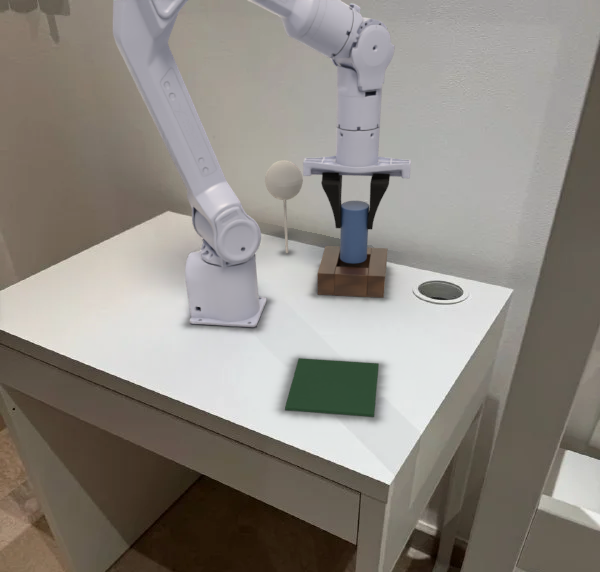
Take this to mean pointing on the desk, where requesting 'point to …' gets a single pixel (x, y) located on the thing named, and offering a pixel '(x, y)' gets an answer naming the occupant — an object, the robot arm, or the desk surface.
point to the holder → (352, 274)
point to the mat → (334, 387)
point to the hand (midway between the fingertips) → (354, 226)
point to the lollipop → (284, 185)
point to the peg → (354, 231)
